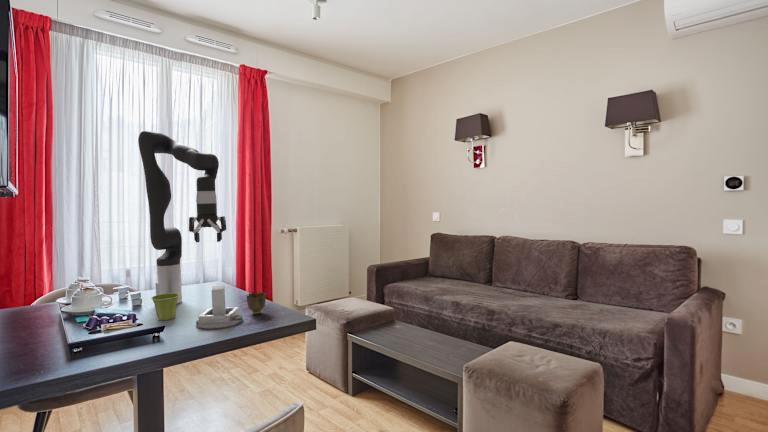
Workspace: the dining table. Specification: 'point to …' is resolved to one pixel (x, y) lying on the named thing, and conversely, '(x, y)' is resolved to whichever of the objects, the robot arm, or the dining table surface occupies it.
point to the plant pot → (165, 305)
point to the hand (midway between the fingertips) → (208, 241)
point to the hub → (219, 319)
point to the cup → (256, 302)
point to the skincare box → (218, 300)
